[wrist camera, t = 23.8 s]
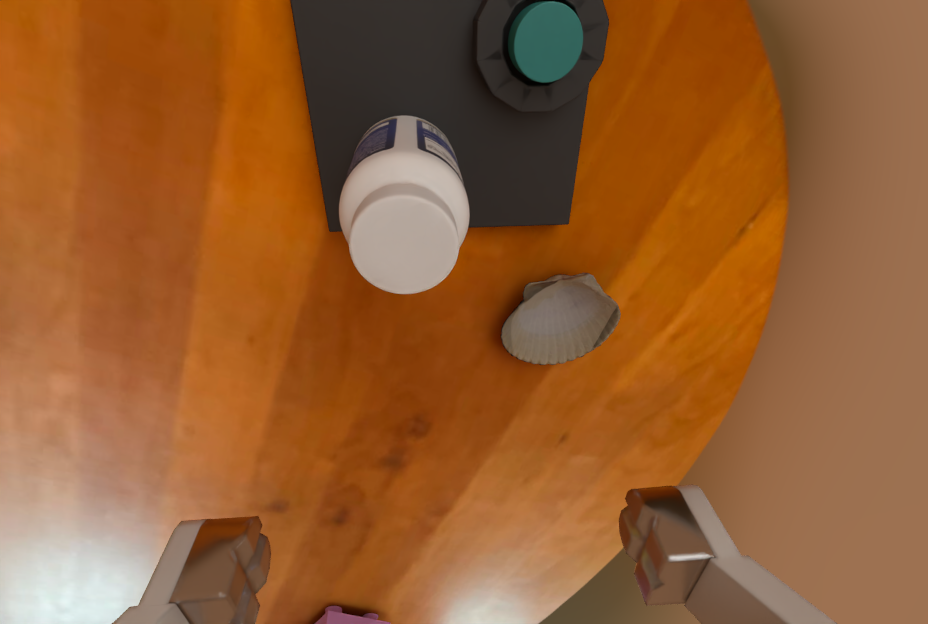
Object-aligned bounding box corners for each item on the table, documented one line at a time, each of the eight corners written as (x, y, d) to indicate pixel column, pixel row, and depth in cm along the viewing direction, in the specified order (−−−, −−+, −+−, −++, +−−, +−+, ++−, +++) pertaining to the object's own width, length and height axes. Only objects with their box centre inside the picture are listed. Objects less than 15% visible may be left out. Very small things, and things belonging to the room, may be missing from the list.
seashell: (504, 340, 36) (609, 346, 35) (500, 371, 34) (613, 378, 33) (503, 255, 30) (630, 259, 29) (499, 286, 28) (636, 292, 27)
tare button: (577, 1, 20) (588, 1, 19) (568, 78, 22) (578, 82, 20) (509, 0, 20) (516, 0, 19) (505, 78, 21) (511, 83, 20)
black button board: (596, -36, 22) (620, -41, 19) (562, 215, 28) (576, 236, 26) (289, -41, 20) (273, -47, 18) (332, 222, 27) (324, 244, 25)
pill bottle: (359, 214, 26) (335, 311, 18) (350, 111, 23) (316, 172, 15) (454, 215, 26) (473, 309, 18) (458, 115, 23) (483, 176, 15)
